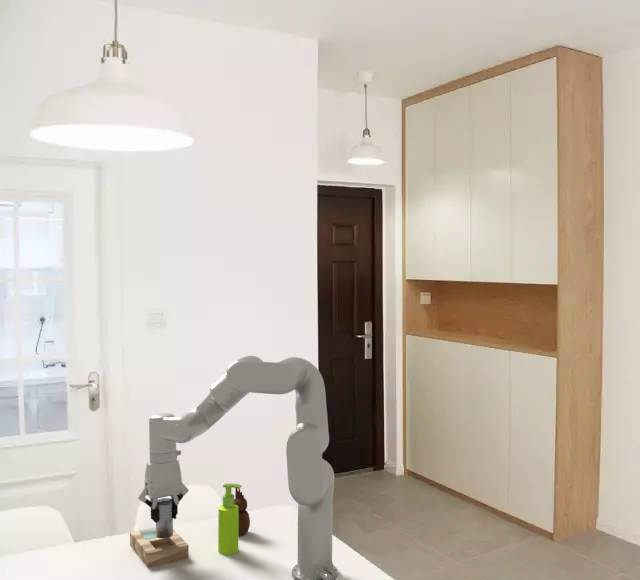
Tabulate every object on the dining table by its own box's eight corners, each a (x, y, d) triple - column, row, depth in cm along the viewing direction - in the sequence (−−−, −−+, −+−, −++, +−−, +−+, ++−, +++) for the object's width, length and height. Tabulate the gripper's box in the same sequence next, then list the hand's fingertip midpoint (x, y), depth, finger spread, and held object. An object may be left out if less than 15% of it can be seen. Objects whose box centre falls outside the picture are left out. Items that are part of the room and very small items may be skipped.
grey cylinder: (175, 536, 199) (174, 501, 199) (159, 539, 197) (158, 504, 196) (170, 530, 203) (169, 497, 203) (154, 534, 201) (153, 500, 200)
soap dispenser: (238, 556, 201) (238, 488, 200) (215, 554, 202) (215, 486, 202) (244, 548, 207) (244, 482, 206) (222, 546, 208) (222, 480, 207)
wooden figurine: (227, 531, 220) (227, 484, 219) (245, 528, 222) (245, 482, 222) (234, 539, 214) (234, 491, 213) (252, 536, 216) (252, 488, 216)
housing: (188, 558, 199) (188, 544, 199) (147, 567, 193) (147, 553, 193) (168, 537, 214) (168, 524, 214) (130, 545, 208) (129, 531, 208)
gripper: (186, 449, 207) (188, 510, 207) (130, 458, 198) (131, 521, 199) (195, 455, 200) (196, 517, 201) (137, 464, 192) (138, 529, 192)
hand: (164, 518), depth 200 cm, fingers closed on grey cylinder, 4 cm apart
